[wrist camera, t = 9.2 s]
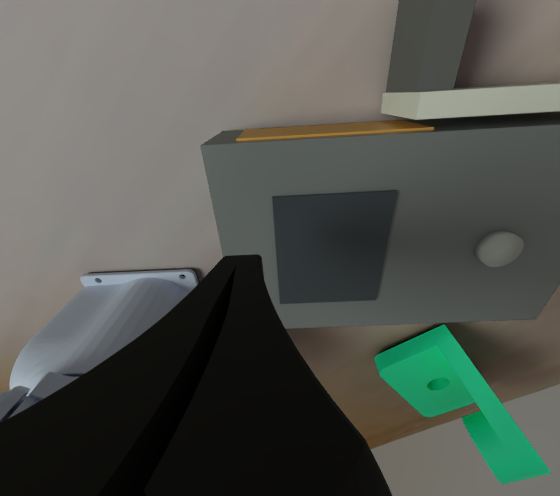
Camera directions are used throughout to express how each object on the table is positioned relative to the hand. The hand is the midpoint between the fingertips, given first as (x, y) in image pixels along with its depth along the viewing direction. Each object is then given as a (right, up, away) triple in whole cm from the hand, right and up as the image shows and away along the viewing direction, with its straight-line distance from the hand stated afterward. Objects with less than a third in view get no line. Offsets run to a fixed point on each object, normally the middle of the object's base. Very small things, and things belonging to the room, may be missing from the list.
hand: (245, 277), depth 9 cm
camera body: (+8, +4, +9) cm, 13 cm away
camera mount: (+17, -11, +18) cm, 28 cm away
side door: (+12, +11, +4) cm, 17 cm away
